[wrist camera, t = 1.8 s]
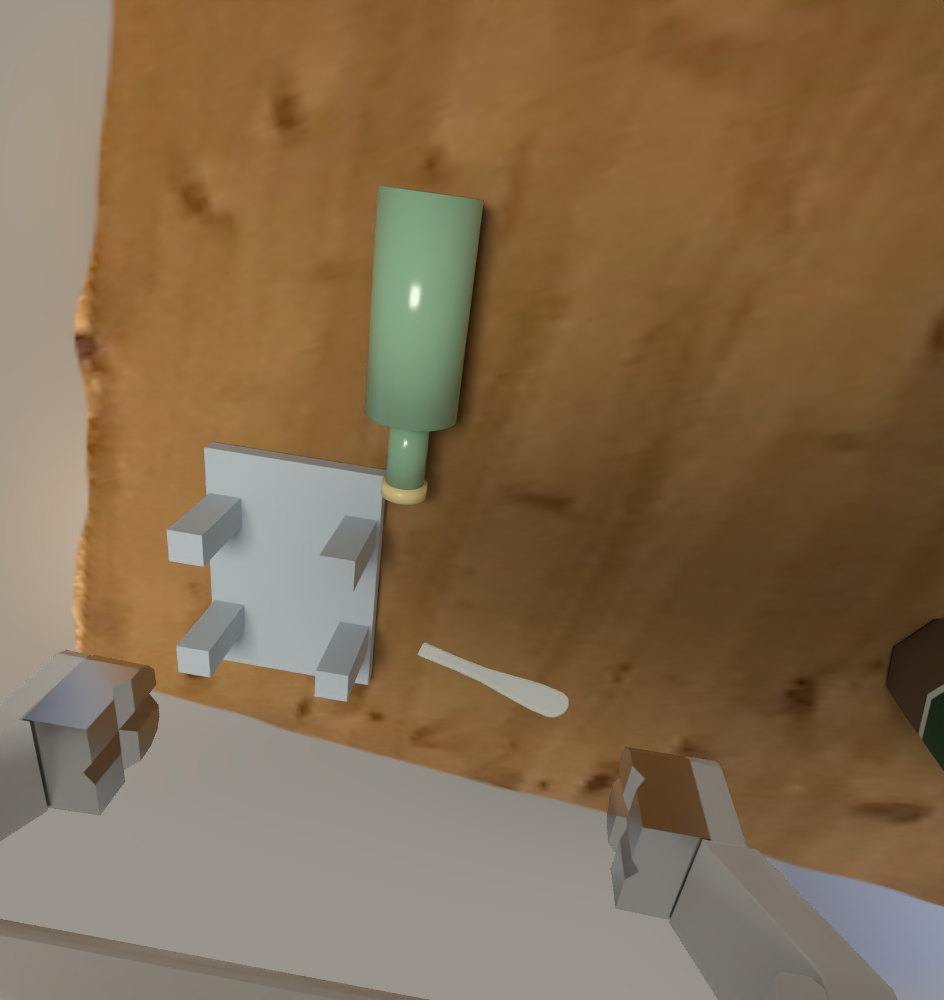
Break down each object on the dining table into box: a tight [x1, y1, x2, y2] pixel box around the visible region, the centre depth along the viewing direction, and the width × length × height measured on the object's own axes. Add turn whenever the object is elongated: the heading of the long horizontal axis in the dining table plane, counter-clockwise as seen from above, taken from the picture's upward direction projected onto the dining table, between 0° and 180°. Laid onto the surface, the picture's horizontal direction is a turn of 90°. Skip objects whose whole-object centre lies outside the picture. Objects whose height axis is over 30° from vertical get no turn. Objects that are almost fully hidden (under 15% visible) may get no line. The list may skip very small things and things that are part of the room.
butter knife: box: [418, 642, 569, 717], centre depth 45 cm, size 1×24×3 cm
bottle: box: [364, 185, 484, 505], centre depth 34 cm, size 16×5×5 cm, turn 173°
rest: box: [167, 442, 386, 702], centre depth 40 cm, size 16×11×6 cm
